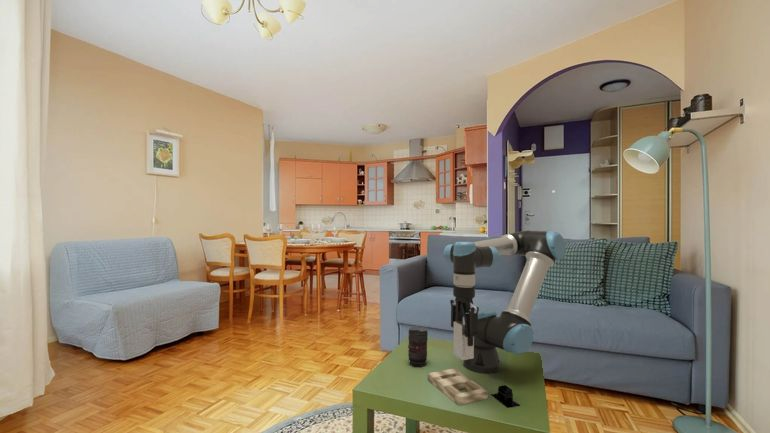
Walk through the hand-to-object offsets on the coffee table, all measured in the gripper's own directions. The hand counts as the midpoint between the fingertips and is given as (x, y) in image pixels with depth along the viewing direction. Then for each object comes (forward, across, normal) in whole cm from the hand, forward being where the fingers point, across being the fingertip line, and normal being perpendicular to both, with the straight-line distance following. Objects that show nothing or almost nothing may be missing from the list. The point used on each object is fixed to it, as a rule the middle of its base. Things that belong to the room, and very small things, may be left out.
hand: (463, 351), depth 123 cm
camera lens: (+15, -30, -2) cm, 33 cm away
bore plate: (+15, -4, 0) cm, 16 cm away
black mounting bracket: (+16, +8, +11) cm, 21 cm away
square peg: (+2, 0, 0) cm, 2 cm away
